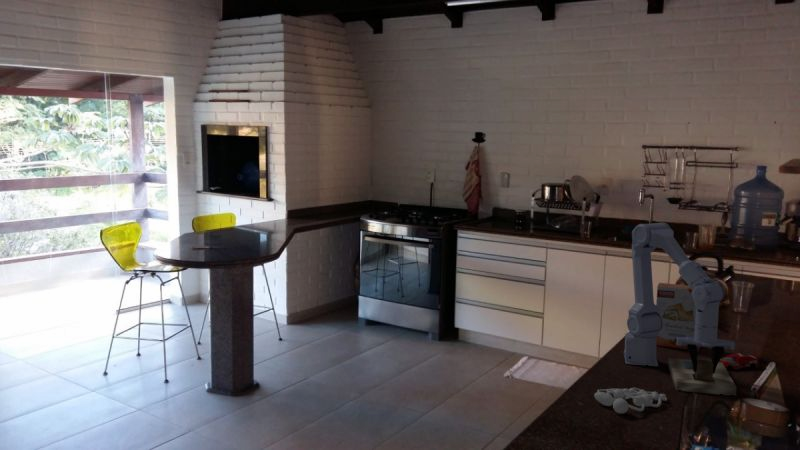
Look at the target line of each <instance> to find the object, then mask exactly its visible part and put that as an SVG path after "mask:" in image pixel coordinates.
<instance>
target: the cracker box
mask: <svg viewBox="0 0 800 450" xmlns="http://www.w3.org/2000/svg"><path fill="white" fill-rule="evenodd" d="M656 289H657V290H656V301H655V302H656V303H655V305H656V306H657V307H659V308H660V313H661V316H662V319H663V328H662V329H661V330H660V331H659V334H658V335H657V346H658V347H659V346H660V347H664V348H665V347H666V348H674V349H680V350H686V349H688V348H687V346H686V345H681V346H678V345H677V337H694V332H695V315H696V308H695V302H694V299H693V297H692V291H693V290H692V289H691V288H690V287H689V285H688V284H687V285H686V284H674V283H667V282H666V283H665V282H658V285H657V287H656ZM696 347H697V350H698V352H700V348H701V346H696Z"/></svg>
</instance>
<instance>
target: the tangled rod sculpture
mask: <svg viewBox="0 0 800 450" xmlns="http://www.w3.org/2000/svg"><path fill="white" fill-rule="evenodd" d="M612 395H613V396H612ZM594 398H595V400H596V401H598V403H600V404H602V406H606V407H611V406H612V408H613V410H614V412H616V413H618V414H621V415H622V414H626V413H627V411H629V409H631V410H634V411H637V412H643V411H644V410H645V407H646V408H648V407H653V408H659V407H660V406H661V405H662V401H665V402H666V401H668V399H667V396H666V394H664V393H658V391H646V390H645V389H640V388H638V387H631V388H614V387H613V388H604V389H602V388H601V389H597V392H595V393H594ZM628 399H632V402H633V403H632V404H634V405H635V406H633V405H631V404H629V403H628V401H626V400H628ZM654 401H656V402H657V401H658V402H657V404H656V403H653V402H654ZM636 406H637V407H636ZM639 407H640V408H639Z"/></svg>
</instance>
